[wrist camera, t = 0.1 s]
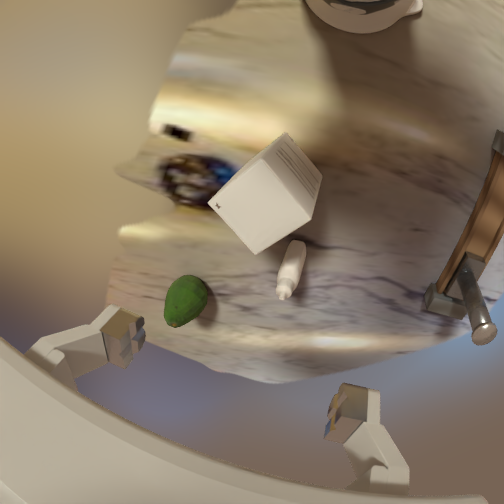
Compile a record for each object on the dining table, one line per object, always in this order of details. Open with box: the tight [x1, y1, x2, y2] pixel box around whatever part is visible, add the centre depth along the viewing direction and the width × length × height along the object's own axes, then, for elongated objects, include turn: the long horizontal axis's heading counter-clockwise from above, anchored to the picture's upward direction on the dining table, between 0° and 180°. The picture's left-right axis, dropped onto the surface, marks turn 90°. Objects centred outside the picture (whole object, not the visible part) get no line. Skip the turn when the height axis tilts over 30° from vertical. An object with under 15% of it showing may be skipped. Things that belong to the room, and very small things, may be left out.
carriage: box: [445, 251, 497, 345], centre depth 39 cm, size 8×4×15 cm, turn 172°
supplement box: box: [208, 132, 323, 255], centre depth 42 cm, size 9×9×15 cm
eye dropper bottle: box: [276, 240, 306, 300], centre depth 50 cm, size 4×6×12 cm
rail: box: [424, 130, 504, 320], centre depth 40 cm, size 32×8×4 cm, turn 172°
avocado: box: [164, 275, 208, 328], centre depth 61 cm, size 8×8×12 cm
